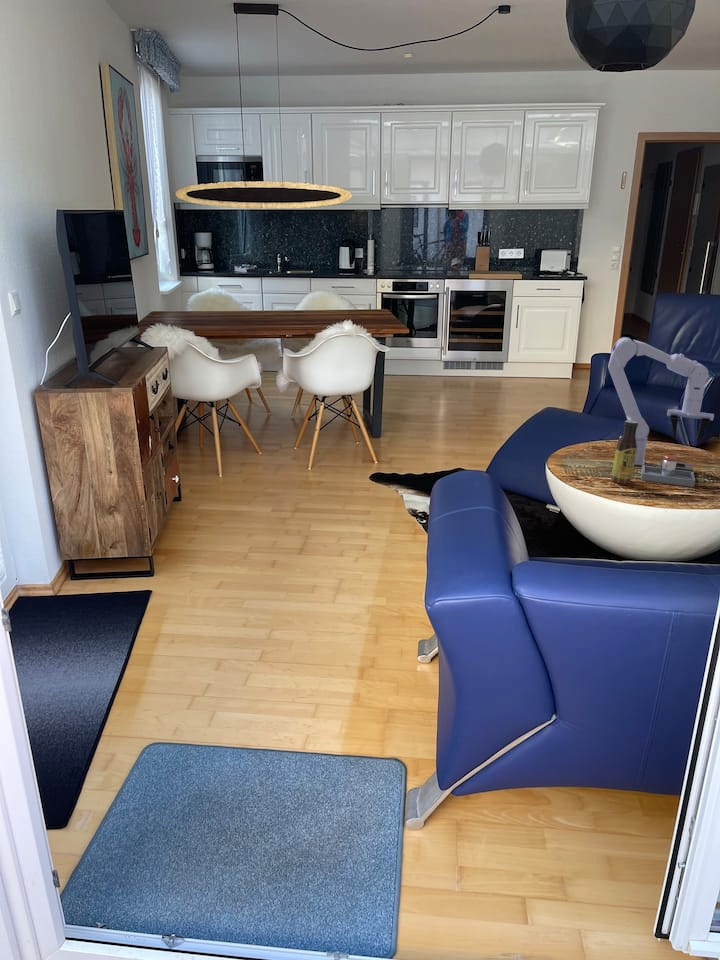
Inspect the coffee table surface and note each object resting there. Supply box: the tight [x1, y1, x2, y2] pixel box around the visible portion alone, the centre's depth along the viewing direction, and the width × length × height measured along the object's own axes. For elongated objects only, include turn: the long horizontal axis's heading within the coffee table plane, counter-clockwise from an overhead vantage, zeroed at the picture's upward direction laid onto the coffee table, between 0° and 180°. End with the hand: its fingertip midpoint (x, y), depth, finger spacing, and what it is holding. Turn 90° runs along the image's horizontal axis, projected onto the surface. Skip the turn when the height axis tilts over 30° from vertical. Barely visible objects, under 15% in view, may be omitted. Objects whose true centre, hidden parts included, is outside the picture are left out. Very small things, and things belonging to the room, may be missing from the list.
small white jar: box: [661, 454, 678, 477], centre depth 237 cm, size 4×4×7 cm
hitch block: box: [659, 459, 694, 472], centre depth 247 cm, size 10×8×2 cm
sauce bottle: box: [610, 419, 638, 485], centre depth 230 cm, size 7×6×20 cm
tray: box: [640, 465, 696, 488], centre depth 238 cm, size 16×11×2 cm
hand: (686, 438), depth 251 cm, fingers open, 7 cm apart
